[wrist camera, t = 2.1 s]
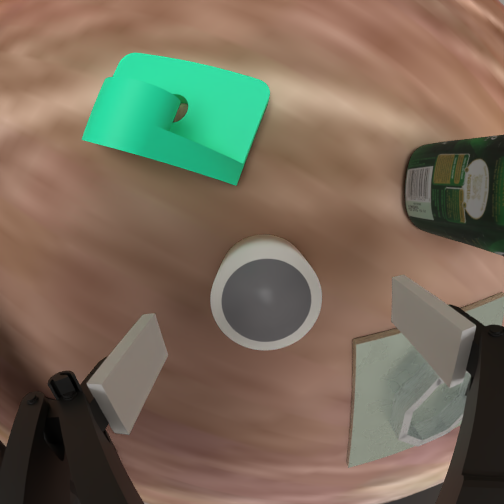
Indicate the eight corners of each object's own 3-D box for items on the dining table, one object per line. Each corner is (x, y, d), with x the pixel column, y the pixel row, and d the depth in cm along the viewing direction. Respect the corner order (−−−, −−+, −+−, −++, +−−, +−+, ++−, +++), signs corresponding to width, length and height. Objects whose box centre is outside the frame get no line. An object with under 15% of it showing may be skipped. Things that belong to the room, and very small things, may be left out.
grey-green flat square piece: (346, 462, 28) (353, 484, 24) (352, 339, 24) (367, 363, 20) (469, 414, 27) (481, 430, 23) (501, 292, 23) (523, 303, 19)
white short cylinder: (228, 324, 23) (222, 356, 19) (211, 242, 22) (199, 257, 17) (311, 311, 23) (325, 340, 18) (302, 227, 22) (316, 238, 17)
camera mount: (271, 96, 20) (286, 29, 10) (237, 185, 21) (224, 182, 11) (136, 63, 19) (77, 6, 9) (103, 144, 20) (21, 126, 10)
